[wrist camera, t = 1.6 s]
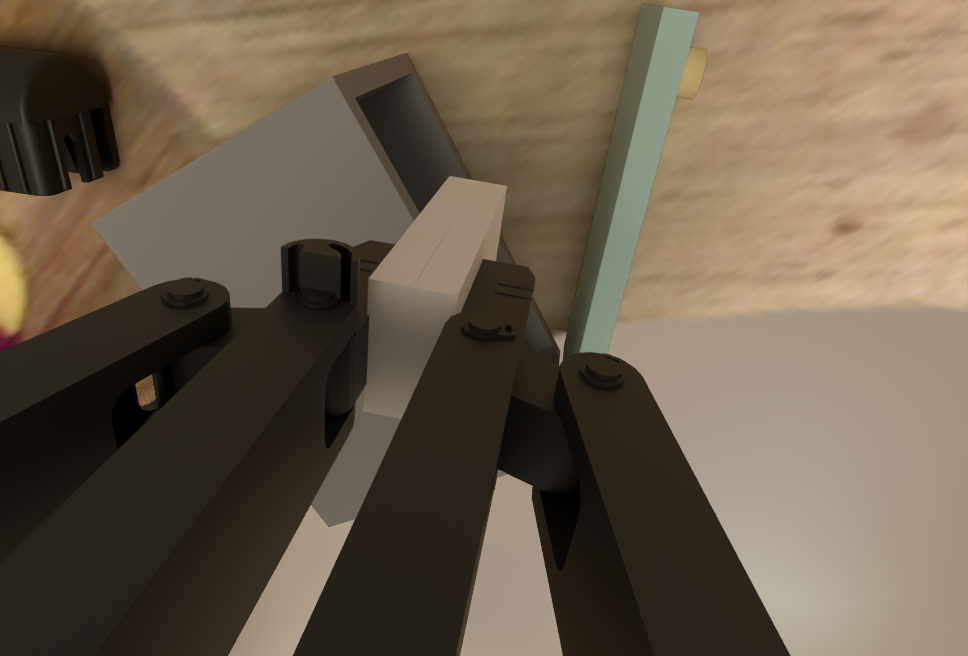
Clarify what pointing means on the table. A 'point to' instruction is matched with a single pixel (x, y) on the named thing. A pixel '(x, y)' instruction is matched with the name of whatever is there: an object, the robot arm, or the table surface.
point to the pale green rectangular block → (632, 167)
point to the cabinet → (304, 215)
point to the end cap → (51, 123)
